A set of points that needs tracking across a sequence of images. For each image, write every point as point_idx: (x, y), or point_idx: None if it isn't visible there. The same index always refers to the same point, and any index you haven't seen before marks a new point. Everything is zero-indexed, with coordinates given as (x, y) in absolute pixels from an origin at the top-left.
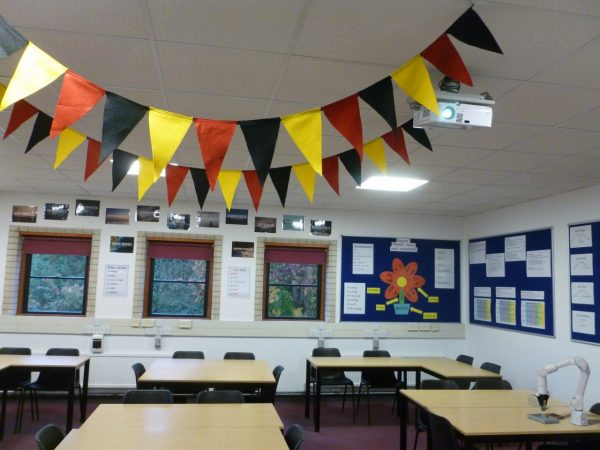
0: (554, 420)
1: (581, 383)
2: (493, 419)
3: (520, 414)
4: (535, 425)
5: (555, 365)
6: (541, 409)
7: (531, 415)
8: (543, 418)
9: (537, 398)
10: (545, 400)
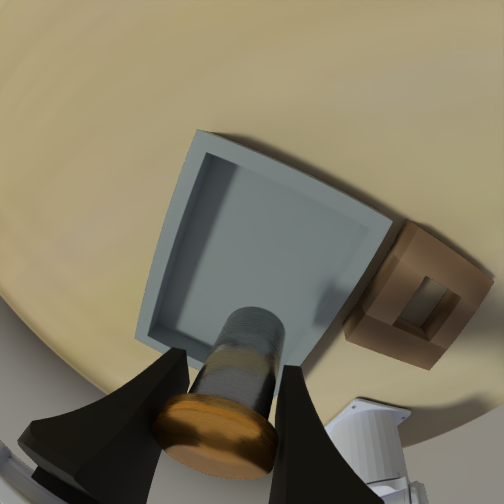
0: None
1: None
2: (6, 73)
3: (289, 28)
4: (72, 287)
5: None
6: (225, 324)
7: (176, 194)
8: (293, 267)
9: (74, 415)
10: (217, 474)
